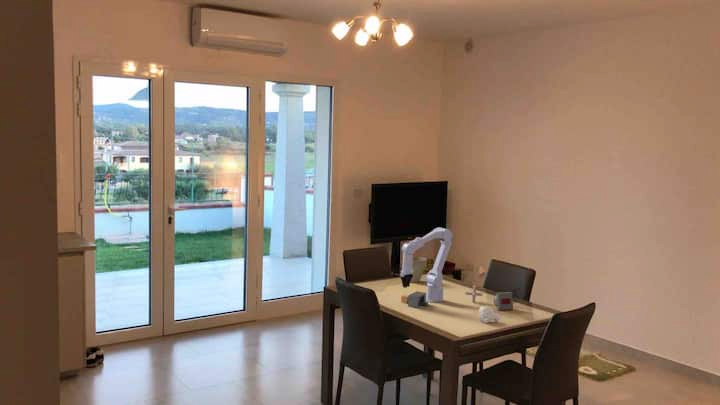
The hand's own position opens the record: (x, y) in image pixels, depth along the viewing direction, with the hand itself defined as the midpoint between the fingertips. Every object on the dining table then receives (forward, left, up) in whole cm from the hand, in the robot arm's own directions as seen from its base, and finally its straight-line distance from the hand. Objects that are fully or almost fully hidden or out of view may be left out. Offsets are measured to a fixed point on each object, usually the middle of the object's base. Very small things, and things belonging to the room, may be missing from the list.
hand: (406, 287), depth 355 cm
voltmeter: (-54, +30, -10) cm, 62 cm away
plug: (-4, +4, -9) cm, 11 cm away
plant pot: (-39, -44, -10) cm, 60 cm away
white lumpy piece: (-20, +49, -10) cm, 54 cm away
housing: (-4, +7, -9) cm, 12 cm away
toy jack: (-41, +14, -10) cm, 44 cm away
